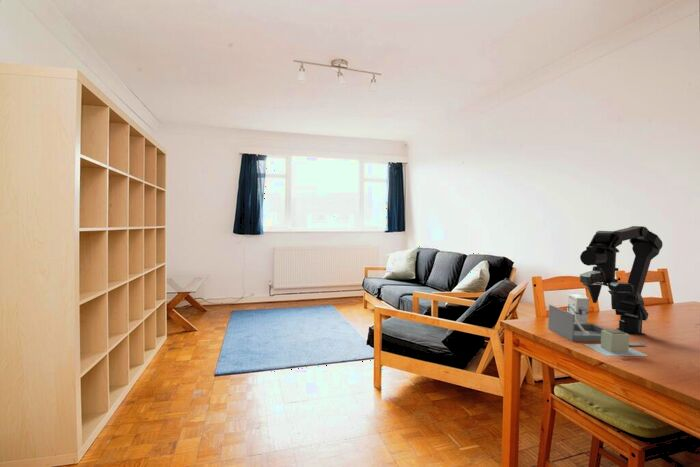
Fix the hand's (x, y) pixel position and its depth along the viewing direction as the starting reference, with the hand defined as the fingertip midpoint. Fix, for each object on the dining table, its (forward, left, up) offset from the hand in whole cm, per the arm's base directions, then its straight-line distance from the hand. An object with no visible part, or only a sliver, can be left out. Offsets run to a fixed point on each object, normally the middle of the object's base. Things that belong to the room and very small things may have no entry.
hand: (603, 306), depth 126 cm
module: (+6, +13, -12) cm, 18 cm away
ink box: (-3, -18, -12) cm, 22 cm away
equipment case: (+6, -2, -12) cm, 14 cm away
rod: (-4, +9, -12) cm, 15 cm away
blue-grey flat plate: (+6, +13, -12) cm, 19 cm away
